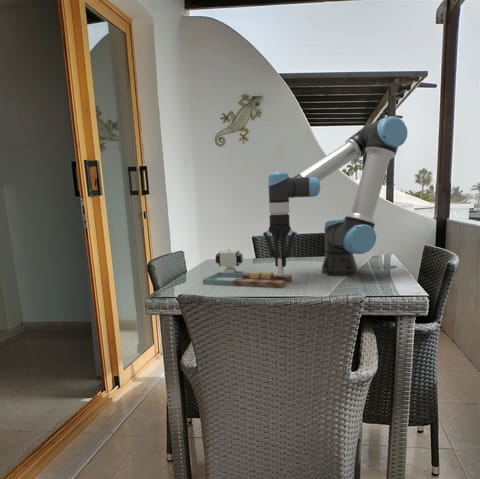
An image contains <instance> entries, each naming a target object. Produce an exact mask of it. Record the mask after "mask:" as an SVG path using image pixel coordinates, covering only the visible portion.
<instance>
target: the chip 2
mask: <svg viewBox="0 0 480 479" xmlns="http://www.w3.org/2000/svg"><path fill="white" fill-rule="evenodd" d="M262 272H263V273H261V280H274V274H275V273H274V271H262Z"/></svg>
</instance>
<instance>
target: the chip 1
mask: <svg viewBox="0 0 480 479" xmlns="http://www.w3.org/2000/svg"><path fill="white" fill-rule="evenodd" d="M263 272H264V271H255V270H253V271H251V272H249V273H250V279H261V273H263Z"/></svg>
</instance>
